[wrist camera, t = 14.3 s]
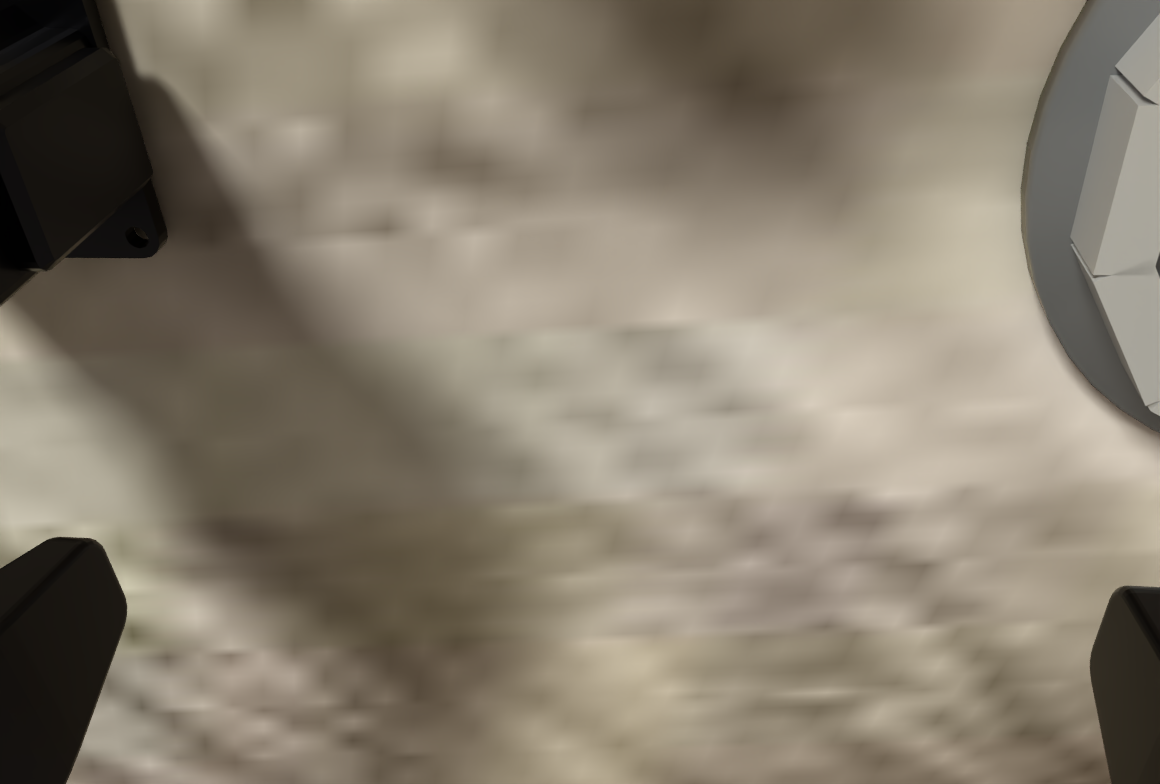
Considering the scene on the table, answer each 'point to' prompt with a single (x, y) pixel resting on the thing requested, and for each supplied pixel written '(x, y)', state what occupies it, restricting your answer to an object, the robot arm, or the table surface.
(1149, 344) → the grey shallow dish
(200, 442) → the table surface
